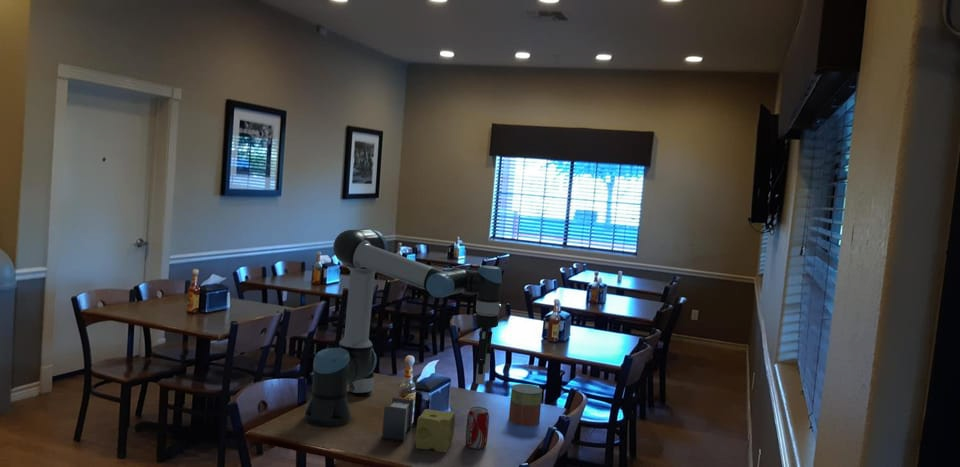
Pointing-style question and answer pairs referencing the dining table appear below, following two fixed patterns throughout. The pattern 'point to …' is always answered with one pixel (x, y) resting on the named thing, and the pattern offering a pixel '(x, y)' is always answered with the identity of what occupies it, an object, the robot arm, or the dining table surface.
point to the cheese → (435, 430)
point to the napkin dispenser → (397, 420)
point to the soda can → (477, 427)
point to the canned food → (525, 405)
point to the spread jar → (362, 386)
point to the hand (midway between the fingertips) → (482, 378)
